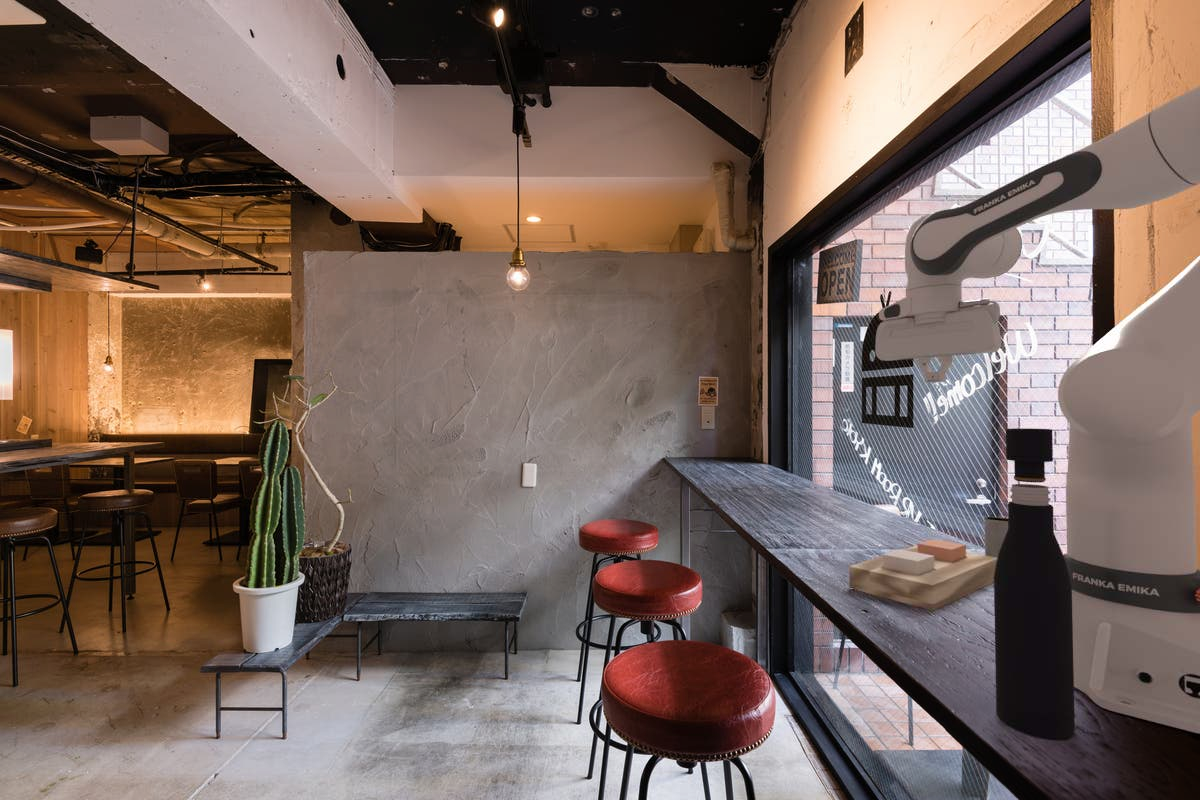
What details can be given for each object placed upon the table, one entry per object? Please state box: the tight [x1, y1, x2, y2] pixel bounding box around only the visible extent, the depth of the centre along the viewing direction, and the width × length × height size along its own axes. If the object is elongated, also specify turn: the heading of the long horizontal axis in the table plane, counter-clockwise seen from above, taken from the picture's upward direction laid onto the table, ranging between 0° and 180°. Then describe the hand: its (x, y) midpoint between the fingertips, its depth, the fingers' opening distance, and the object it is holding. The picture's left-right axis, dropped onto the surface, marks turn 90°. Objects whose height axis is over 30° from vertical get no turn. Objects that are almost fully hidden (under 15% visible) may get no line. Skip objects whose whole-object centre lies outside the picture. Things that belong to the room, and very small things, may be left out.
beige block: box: [882, 548, 935, 576], centre depth 101 cm, size 6×6×4 cm
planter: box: [984, 516, 1008, 558], centre depth 112 cm, size 4×4×10 cm
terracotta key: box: [917, 538, 967, 563], centre depth 109 cm, size 6×6×4 cm
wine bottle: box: [993, 427, 1076, 741], centre depth 59 cm, size 6×6×30 cm
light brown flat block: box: [848, 544, 997, 611], centre depth 105 cm, size 14×27×4 cm, turn 127°
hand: (935, 382), depth 104 cm, fingers closed
